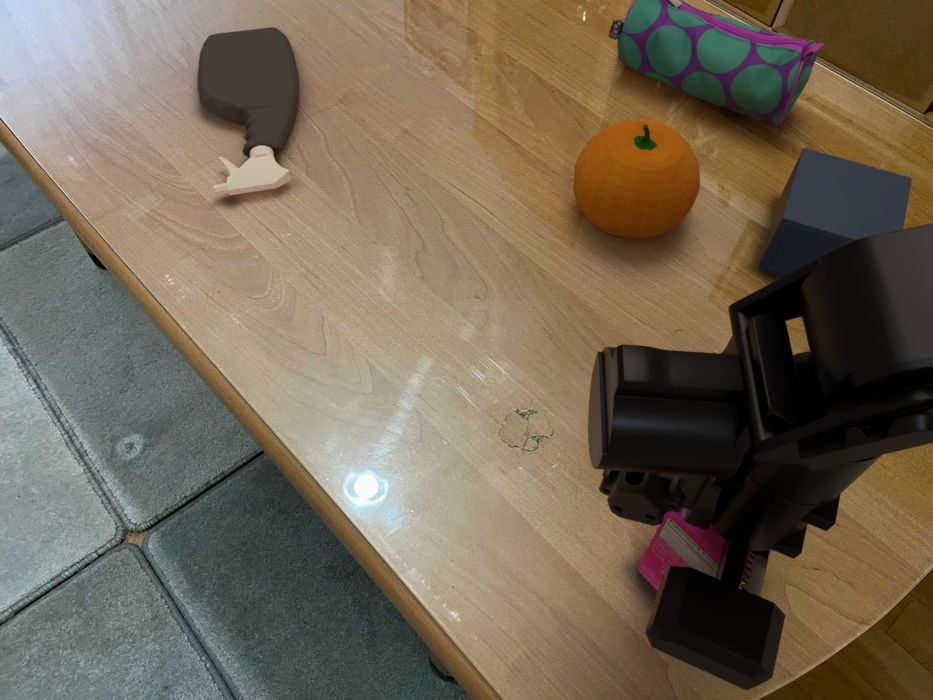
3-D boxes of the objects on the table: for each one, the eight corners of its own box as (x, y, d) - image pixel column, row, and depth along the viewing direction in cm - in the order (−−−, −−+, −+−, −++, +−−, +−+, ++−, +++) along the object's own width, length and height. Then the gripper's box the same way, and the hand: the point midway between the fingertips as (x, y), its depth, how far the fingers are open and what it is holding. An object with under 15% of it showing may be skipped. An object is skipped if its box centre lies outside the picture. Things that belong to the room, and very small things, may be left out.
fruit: (574, 254, 70) (590, 173, 62) (563, 168, 77) (575, 85, 69) (699, 253, 70) (731, 172, 62) (676, 167, 77) (702, 84, 69)
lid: (800, 153, 70) (803, 147, 69) (908, 184, 68) (912, 177, 67) (779, 224, 65) (782, 217, 64) (894, 259, 62) (899, 253, 62)
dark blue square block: (777, 201, 74) (799, 156, 70) (877, 231, 72) (907, 186, 67) (757, 268, 69) (779, 224, 65) (863, 302, 67) (894, 259, 62)
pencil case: (600, 74, 86) (614, -6, 78) (637, 38, 90) (654, -42, 82) (771, 147, 79) (806, 67, 71) (803, 104, 83) (839, 23, 75)
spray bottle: (295, 46, 88) (315, 192, 75) (200, 56, 87) (204, 207, 74) (290, 23, 86) (310, 170, 73) (193, 33, 85) (195, 185, 71)
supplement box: (685, 520, 56) (731, 450, 46) (749, 582, 53) (811, 521, 44) (631, 569, 53) (667, 506, 44) (694, 636, 51) (747, 585, 41)
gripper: (684, 267, 44) (629, 402, 57) (576, 550, 34) (539, 635, 47) (881, 334, 41) (777, 459, 54) (825, 659, 32) (714, 718, 44)
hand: (703, 556), depth 50 cm, fingers open, 9 cm apart
